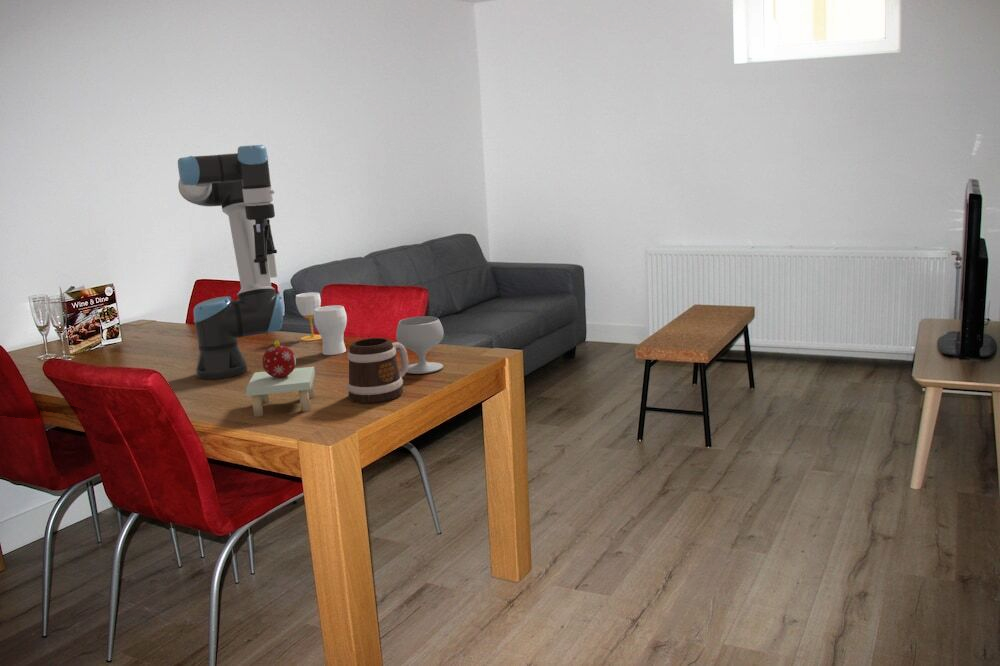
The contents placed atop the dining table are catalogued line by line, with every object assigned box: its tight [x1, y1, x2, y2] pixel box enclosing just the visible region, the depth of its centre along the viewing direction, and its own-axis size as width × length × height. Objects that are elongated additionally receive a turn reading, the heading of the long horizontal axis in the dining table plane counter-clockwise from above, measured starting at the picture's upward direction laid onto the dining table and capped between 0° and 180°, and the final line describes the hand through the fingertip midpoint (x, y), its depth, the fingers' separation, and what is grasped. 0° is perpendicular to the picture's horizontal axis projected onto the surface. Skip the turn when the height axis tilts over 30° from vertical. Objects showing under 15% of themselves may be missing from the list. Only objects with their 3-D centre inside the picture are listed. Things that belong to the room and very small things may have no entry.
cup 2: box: [295, 291, 322, 342], centre depth 305 cm, size 9×9×16 cm
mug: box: [346, 337, 409, 404], centre depth 230 cm, size 20×15×15 cm
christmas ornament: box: [261, 339, 297, 378], centre depth 223 cm, size 9×9×10 cm
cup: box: [313, 304, 348, 356], centre depth 281 cm, size 11×11×15 cm
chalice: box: [395, 315, 445, 375], centre depth 251 cm, size 14×14×15 cm
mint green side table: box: [245, 366, 316, 418], centre depth 225 cm, size 16×16×8 cm
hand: (269, 281), depth 233 cm, fingers open, 13 cm apart
